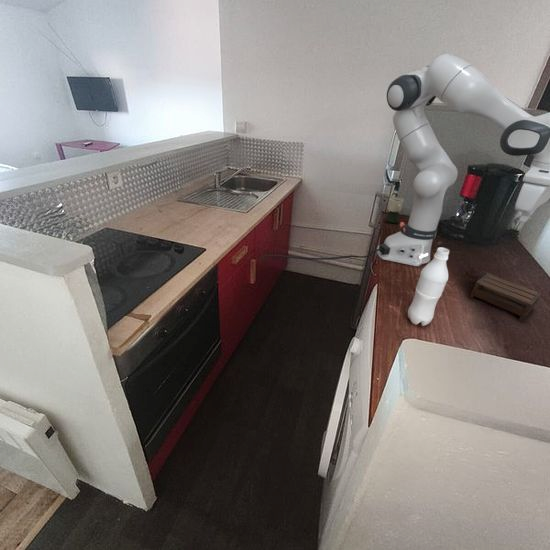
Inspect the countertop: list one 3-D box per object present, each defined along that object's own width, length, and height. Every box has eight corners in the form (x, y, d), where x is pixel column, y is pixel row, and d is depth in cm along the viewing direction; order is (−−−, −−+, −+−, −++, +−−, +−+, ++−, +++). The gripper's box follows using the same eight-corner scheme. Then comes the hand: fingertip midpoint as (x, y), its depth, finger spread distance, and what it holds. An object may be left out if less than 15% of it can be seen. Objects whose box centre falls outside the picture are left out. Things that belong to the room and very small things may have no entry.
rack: (521, 321, 93) (531, 305, 90) (468, 297, 104) (475, 282, 100) (531, 309, 99) (541, 293, 95) (480, 288, 109) (487, 272, 106)
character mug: (401, 225, 160) (407, 202, 153) (388, 225, 160) (394, 202, 153) (393, 218, 169) (399, 196, 163) (381, 218, 169) (386, 196, 162)
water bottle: (401, 313, 95) (424, 244, 82) (422, 312, 96) (448, 243, 83) (412, 328, 89) (438, 256, 76) (434, 327, 90) (464, 255, 77)
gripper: (544, 166, 89) (523, 210, 96) (522, 175, 78) (500, 224, 85) (571, 170, 85) (546, 216, 92) (552, 180, 74) (525, 231, 81)
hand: (524, 220), depth 88 cm, fingers closed
